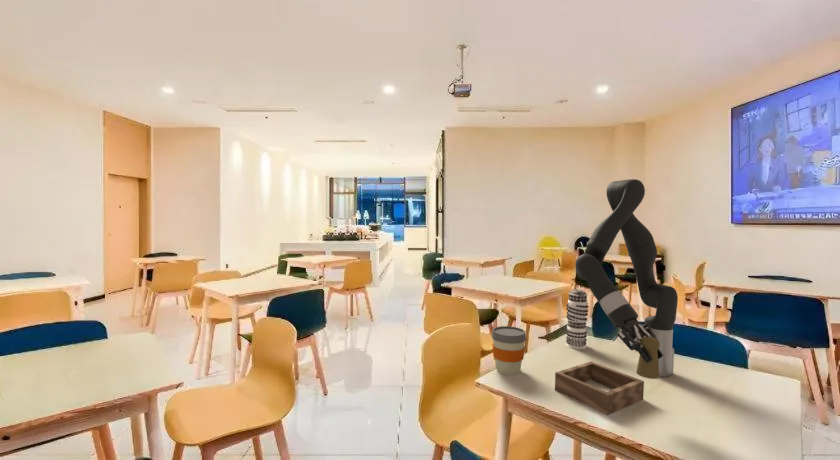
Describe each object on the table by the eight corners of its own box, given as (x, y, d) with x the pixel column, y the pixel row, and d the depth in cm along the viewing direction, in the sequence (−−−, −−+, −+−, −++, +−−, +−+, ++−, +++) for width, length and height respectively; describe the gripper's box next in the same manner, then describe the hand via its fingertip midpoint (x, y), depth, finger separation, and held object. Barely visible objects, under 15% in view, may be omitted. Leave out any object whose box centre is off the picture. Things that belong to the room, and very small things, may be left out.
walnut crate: (590, 377, 146) (590, 361, 146) (643, 399, 130) (644, 381, 129) (554, 389, 136) (555, 372, 136) (607, 415, 120) (608, 395, 119)
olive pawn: (663, 379, 115) (665, 342, 114) (640, 377, 116) (642, 340, 116) (655, 371, 121) (657, 335, 120) (633, 369, 122) (635, 333, 122)
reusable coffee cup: (531, 369, 153) (532, 330, 152) (514, 380, 143) (515, 338, 143) (502, 361, 161) (503, 324, 160) (484, 370, 152) (485, 330, 151)
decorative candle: (589, 345, 181) (591, 290, 179) (583, 350, 173) (585, 293, 172) (569, 340, 186) (571, 287, 185) (562, 346, 179) (563, 290, 178)
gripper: (612, 305, 120) (651, 358, 111) (639, 300, 128) (678, 349, 118) (595, 318, 125) (632, 370, 115) (622, 312, 132) (658, 360, 123)
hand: (655, 359), depth 117 cm, fingers closed on olive pawn, 5 cm apart
